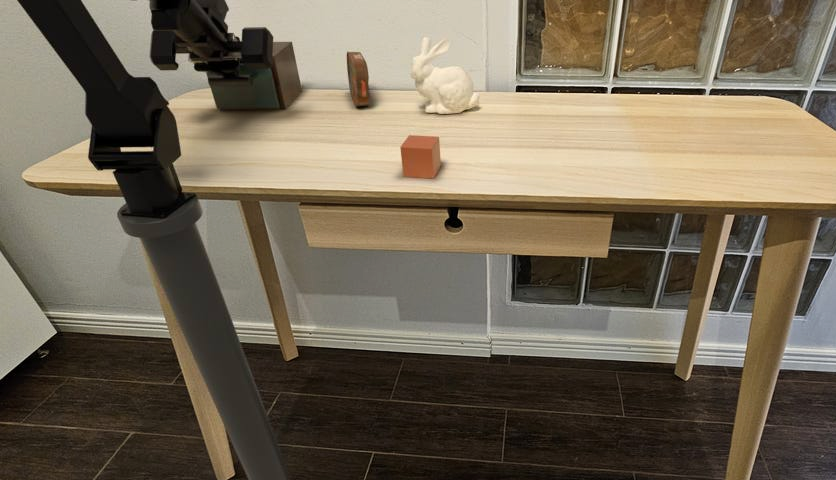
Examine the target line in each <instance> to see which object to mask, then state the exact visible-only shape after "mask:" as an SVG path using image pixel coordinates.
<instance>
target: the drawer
mask: <svg viewBox="0 0 836 480" xmlns="http://www.w3.org/2000/svg"><path fill="white" fill-rule="evenodd" d="M238 72H239V74H238V76H223V75H217V74H212V73H206V72H205V73H206V77H207V83H208V86H209V88H210V90H211V94H212V98H213V100H214V105H215V107H216V110H219V109H257V108H279V107H280V104H279V101H280V100H279V95H278V91H277V87H276V82H275V78H274V74H273V69H272V66H271V67H270V68H269V69H251V68H248V67H246V66H245V65H244V64H243V61H240V68H239V70H238Z"/></svg>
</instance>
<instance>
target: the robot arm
mask: <svg viewBox="0 0 836 480" xmlns="http://www.w3.org/2000/svg"><path fill="white" fill-rule="evenodd" d="M16 1H17V2H18V4H19V5H20V6H21V8H22V9H23V10H24V12H25V13H26V15H27V16H28V17H29V18H30V20H31V22H33V24H34V25H35V26H36V28H37V29H38V30H39V32H40V33H41V35H42V36H43V37H44V39H45V40H46V41H47V43H48V44H49V45H50V47H51V48H52V49H53V50H54V52H55V54H57V56H58V57H59V59H60V60H61V61H62V63H63V64H64V65H65V67H66V68H67V70H68V71H70V73H71V75H72V76H73V78H75V80H76V82H77V83H78V84H79V85H80V87H81V88H82V89H83V92H84V93H85V95H84V96H85V99H84V101H85V102H84V114H85V116H86V118H87V120H88V121H89V123H90V124H91V128H90V137H89V146H88V152H87V154H88V155H87V159H88V161H89V162H90V163H91V164H92V166H93V167H94V168H95V169H96V170H97V172H98V171H99V172H100V171H101V172H102V171H109V170H110V171H112V175H113V177H114V179H115V181H116V183H117V186H118V188H119V190H120V193H121V195H122V197H123V199H124V201H125V203H126V204H127V207H126V208H124V209H123V210H121V211H120V214H121V215H122V216H133V217H145V218H157V219H164V218H167V217H168V216H169V215H171V214H172V213H173V212H175V211H176V210H177V209H178V208H180V207H181V206H182V205H184V204H185V203H186V202H188V201H189V200H190V199H192V198H193V194H192V193H193V192H183V188H182V185H181V182H180V179H179V177H178V174H177V172H176V169H175V166H174V163H175V162H176V161H177V160H179V158H180V157H182V149H181V148H182V147H181V143H180V137H179V130H178V124H177V119H176V116H175V115H174V113H173V112H172V111H171V109H170V107H169V105H170V102H169V101H168V100H167V99H166V98H165V97H164V95H163V94H162V92H161V90H160V89H159V86H158V84H157V82H156V81H155V80H153V78H152V77H150V76H133V75H132V74H130V73H129V72H128V70H127V69H126V67H125V66H124V64H123V63H122V61H121V59H119V57H118V55H117V54H116V52H115V50H114V49H113V47H112V46H111V44H110V43H109V41H108V40H107V38H106V36H105V35H104V34H103V32H102V30H101V29H100V27H99V26H98V24H97V22H96V21H95V20H94V18H93V16H92V15H91V13H90V12H89V10H88V9H87V7H86V6H85V4H84V2H83V1H82V0H16ZM131 1H136V0H131ZM148 1H149V4H148V5H149V10H150V14H151V15H150V25H151V28H152V31H151V33H150V34H151V35H150V44H149V45H150V47H149V60H150V63H151V64H152V65H154V67H156V68H157V69H158V70H159V71H177V70H178V69H179V63H178V62H177V61H176V58H177V55H184V54H185V55H186V54H188V55H187V61H188V62H189V63H192V64H193V69H194V70H195V72H198V73H199V72H200V73H212V74H217V75H223V76H238V74H239V72H238V70H239V68H240V58H242V61H243V64H244V65H245V66H246V67H248V68H251V69H269V68H270V67H271V66H272V57H273V42H274V35H273V34H272V32H271V31H270V30H269V29H268V28H267V27H266V26H253V27H251V26H249V27H248V26H247V27H243V28H242V29H241V39H240V37H239V36H237V35H236V34H235V33H234V32H229V25H228V24H227V23H226V21H225V20H226V18H227V13H228V12H229V10H230V8H229V6H228V4H227V3H228V2H227V1H226V0H148ZM123 148H124V149H125V148H127V149H128V148H153V149H152V150H132V151H131V150H128V151H126V150H125V151H123V150H122V149H123Z"/></svg>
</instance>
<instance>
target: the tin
mask: <svg viewBox="0 0 836 480" xmlns="http://www.w3.org/2000/svg"><path fill="white" fill-rule="evenodd" d="M346 71H347V79H348V88H349V93H350V97H351V99H352V101H353V105H354V106H355V107H356V108H357V107H367V106H369V105H370V103H371V95H370V86H369V80H370V79H369V78H370V77H369V76H370V75H369V68H368V64H367V61H366V59H365V57H364V56H363V54H362V53H361V51H346Z"/></svg>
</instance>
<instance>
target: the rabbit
mask: <svg viewBox="0 0 836 480" xmlns="http://www.w3.org/2000/svg"><path fill="white" fill-rule="evenodd" d="M451 44H452V42H451V39H450V38H448V37H444V38H443V39H442V40H441V41H440V42H438V43H437V44H435V45H434V46H433V47H432V48H431V49H430V47H431V45H432V39H431V37H429V36H425V37H424V38H423V39H422V41H421V46H420V47H421V48H420V54H419V55H416V56H413V57H412V58H411V69H410V76H411V78H412V79H414V86H415V88H416V91H417V92H418V93H419V95H420V96H422V97H423V98H424V99H426V100H430V101H427V102H426V103H425V105H424V108H425V109H424V111H425V113H427V114H434V113H436V114H439V115H449V114H460V113H462V112H463V111H466V110H470V109H472V108H474V107H475V106H477V105H478V103H479V102H480V94H479V93H478V92H474V82H473V79H472V77H471V76H470V74H469V73H468V71H466V70H465V69H464V68H462V67H460V66H456V65H453V66H451V65H450V66H447V67H443V68H440V67H438V66H434V65H433V62H432V61H433V60H435V59H436V58H438V57H439V56H441V55H443V54H444V53H446V52H447V51H449V50H450V48H451V46H452V45H451Z"/></svg>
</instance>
